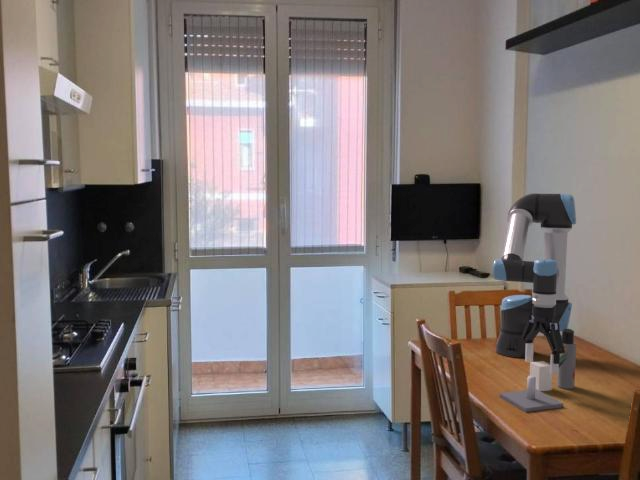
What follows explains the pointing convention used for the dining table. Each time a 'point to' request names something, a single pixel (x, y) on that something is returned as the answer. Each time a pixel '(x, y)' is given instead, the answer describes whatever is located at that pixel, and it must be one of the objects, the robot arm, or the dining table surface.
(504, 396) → the post board
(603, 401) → the dining table surface
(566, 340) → the lotion bottle
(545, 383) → the tall white block
